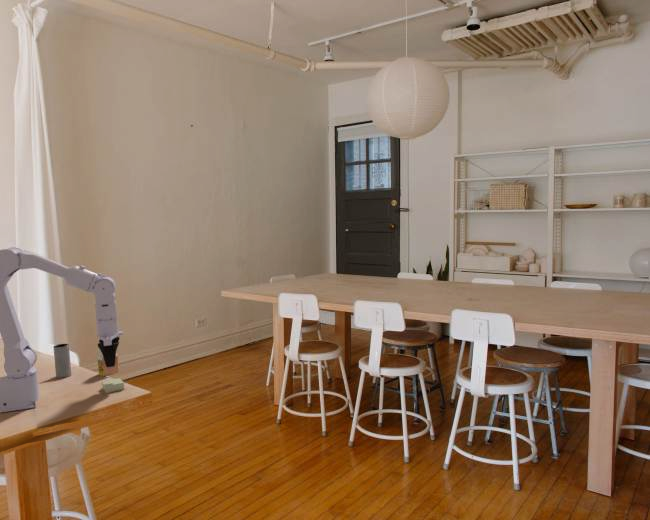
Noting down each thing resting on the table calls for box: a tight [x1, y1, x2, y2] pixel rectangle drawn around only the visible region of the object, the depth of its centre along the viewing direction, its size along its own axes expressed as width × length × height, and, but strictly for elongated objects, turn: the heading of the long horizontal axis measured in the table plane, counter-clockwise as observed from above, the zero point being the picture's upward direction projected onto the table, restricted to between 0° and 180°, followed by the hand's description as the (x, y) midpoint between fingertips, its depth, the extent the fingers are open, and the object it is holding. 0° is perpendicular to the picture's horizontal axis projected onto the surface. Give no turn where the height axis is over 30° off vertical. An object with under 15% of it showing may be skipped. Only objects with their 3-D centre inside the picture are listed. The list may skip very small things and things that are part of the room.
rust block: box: [103, 352, 120, 375], centre depth 155 cm, size 4×4×5 cm
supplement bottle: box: [97, 348, 114, 377], centre depth 172 cm, size 5×5×10 cm
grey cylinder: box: [53, 343, 72, 379], centre depth 175 cm, size 4×4×10 cm
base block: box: [100, 387, 126, 395], centre depth 156 cm, size 6×6×2 cm
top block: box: [101, 378, 125, 394], centre depth 156 cm, size 5×5×2 cm
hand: (110, 364), depth 155 cm, fingers closed on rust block, 4 cm apart
